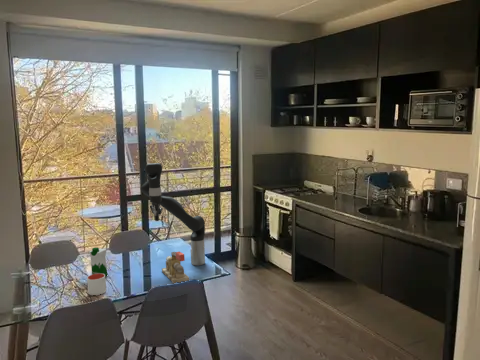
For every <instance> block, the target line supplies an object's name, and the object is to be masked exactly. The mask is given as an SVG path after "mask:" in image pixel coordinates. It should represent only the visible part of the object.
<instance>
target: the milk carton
mask: <svg viewBox="0 0 480 360" xmlns="http://www.w3.org/2000/svg"><path fill="white" fill-rule="evenodd" d="M88 253H89V256H90V266H91V275H93V274H99V273H100V274H104V275H105V278H107V277H108V276H107V275H109V274H108V270H107V258H106V257H107V256H106V255H107V249H106V248H99V247H92V248H91V250H90V251H88Z"/></svg>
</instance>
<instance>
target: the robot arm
mask: <svg viewBox="0 0 480 360" xmlns="http://www.w3.org/2000/svg"><path fill="white" fill-rule="evenodd" d="M144 168H145V169H144V172H145V174H146V181H145V182H144V183H143V184H142V185H141V186H140V191H141V193H143V194H144V195H145V196H147V197H148V198H149V202H150V203H151V205H149V208H150V210H151V213H152V215H154V221H155V222H159V221H160V215H161V214H162V212H163V209H165V210H166V211H168V212H169V214H171V215H172V216H174V217H175V218H176V219H178V220H180V222H182V223H183V224H184V226H186V227H187V228H188V229H189V230H191V231H192V232H191V234H190V262H191V265H192V266H202V265H204V264H206V258H205V257H206V256H205V255H206V253H205V251H206V250H205V235H206V227H205V226H206V225H205V223H206V222H205V219H204V218H203V216H201V215H195V216H192V215H191V214H189V213H187V211H186V210H185V209H184V207H183V205H182V204H181V203H180V202H179V201H178V200H177V199H175V198H174V197H172V196H164V195H162V188H161V176H162V172H163V165H162V164H161V163H160V162H157V163H156V162H154V163H147V164H146V165H145V167H144Z"/></svg>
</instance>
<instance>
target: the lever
mask: <svg viewBox="0 0 480 360" xmlns="http://www.w3.org/2000/svg"><path fill="white" fill-rule="evenodd" d="M170 254H171V255H170V256H171V257H172V256H176V259H178V260H179V261H180V262H184V261H185V253H183V252H181V251H172V252H171V253H170Z"/></svg>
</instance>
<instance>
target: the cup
mask: <svg viewBox="0 0 480 360" xmlns="http://www.w3.org/2000/svg"><path fill="white" fill-rule="evenodd" d="M86 279H87V280H86V282H87V290H88V291H87V292H88V294H89V295H90V296H93V295H96V296H101V295H103V294H105V293H106V291H107V281H106V280H107V279H106V277H105V275H104V274H100V273H99V274H93V275H92V274H90V275H88V276H87V277H86ZM100 294H101V295H100Z"/></svg>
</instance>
